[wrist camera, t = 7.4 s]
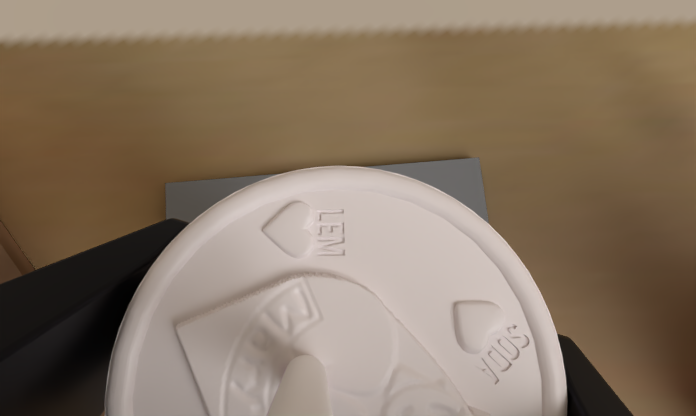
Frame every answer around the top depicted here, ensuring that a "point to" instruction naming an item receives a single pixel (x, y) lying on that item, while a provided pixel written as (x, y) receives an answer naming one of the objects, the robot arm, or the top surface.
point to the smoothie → (337, 309)
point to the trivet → (444, 175)
